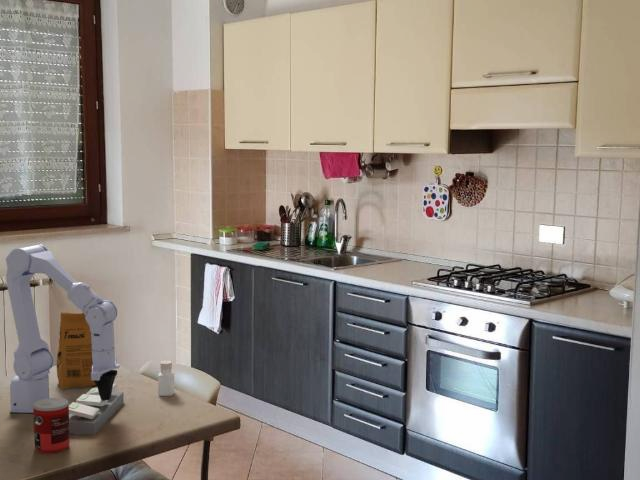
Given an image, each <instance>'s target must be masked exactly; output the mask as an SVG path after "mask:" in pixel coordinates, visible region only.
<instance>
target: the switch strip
mask: <svg viewBox="0 0 640 480" xmlns="http://www.w3.org/2000/svg"><path fill="white" fill-rule="evenodd" d="M124 398H125V397H124V391H113V392H112V394H111V398H110V399H109V400H108V401H107V402H106V403H105V404H104V405H103V406H93V407H94V408H98V409H100V410H99V413H98V414H97V415H96V416H95V417H94V418H93V419H89V418H85V417H82V418H81V419H80V420H77V419H76V416H77V415H73V414H69V435H95V434H97V432H98V431H100V429H101V428H102V427H103V425H105V424H106V422H107V421H108V420H109V419H110V418H111V417H112V416H113V415H114V414H115V413H116V411H117V410H118V409H119V408H120V407H121V406H122V405H123V404H124ZM87 406H88V405H87Z"/></svg>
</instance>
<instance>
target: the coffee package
mask: <svg viewBox="0 0 640 480" xmlns="http://www.w3.org/2000/svg"><path fill="white" fill-rule="evenodd" d="M85 316H86V315H85V314H84V313H83V312H81V313H75V312H63V311H61V312H60V326H59V337H58V350H57V358H56V375H57V377H56V378H57V379H58V387H59V388H60V389H61V390H66V389H71V388H77V389H78V388H79V389H85V388H90V387H94V386H95V387H97V386H96V384H95V382H94V381H93V380H91V373H92V365H93V361H92V342H91V331H90V326H89V324H88V323H87V321H86V319H85Z"/></svg>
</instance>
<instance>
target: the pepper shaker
mask: <svg viewBox="0 0 640 480" xmlns="http://www.w3.org/2000/svg"><path fill="white" fill-rule="evenodd" d="M159 369H160V372H159V373H158V375H157V385H158V388H157V389H158V393H157V394H158V396H159V397H172V396H173V394H174V393H175V372H173V371H172V370H173V363H172V361H171V360H162V361H160V368H159Z"/></svg>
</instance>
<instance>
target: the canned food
mask: <svg viewBox="0 0 640 480" xmlns="http://www.w3.org/2000/svg"><path fill="white" fill-rule="evenodd" d="M69 405H70V404H69V401H68V400H67V399H65V398H62V397H49V398H47V399H42V400H39V401H36V402H35V403H34V404H33V413H32V416H33V417H32V418H33V419H32V420H33V436H34V437H33V441H34V445H33V446H34V449H35V451H36V452H38V453H41V454H57V453H61V452H63V451H66V450H67V449H68V448H69V447H70V442H71V440H70V434H69Z"/></svg>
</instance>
